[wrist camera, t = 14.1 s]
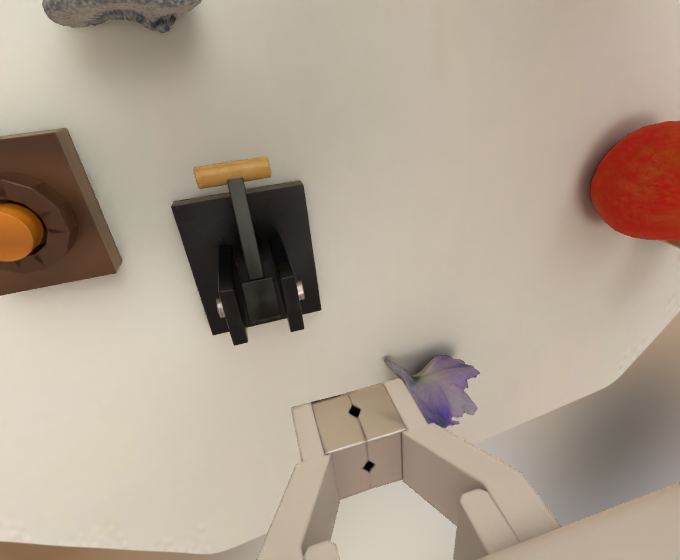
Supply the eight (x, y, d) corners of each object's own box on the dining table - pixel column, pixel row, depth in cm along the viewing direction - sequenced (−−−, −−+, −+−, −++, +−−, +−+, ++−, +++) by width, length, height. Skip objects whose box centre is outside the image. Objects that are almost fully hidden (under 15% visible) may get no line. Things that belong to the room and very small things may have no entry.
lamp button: (-30, 207, 23) (-46, 216, 22) (29, 198, 24) (17, 206, 23) (-1, 255, 25) (-15, 266, 24) (53, 245, 26) (43, 256, 24)
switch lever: (196, 171, 28) (190, 163, 25) (266, 160, 28) (267, 151, 26) (231, 323, 28) (228, 328, 26) (298, 307, 29) (301, 311, 27)
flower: (370, 431, 38) (471, 461, 37) (392, 346, 38) (493, 374, 38) (369, 406, 47) (450, 429, 46) (387, 337, 48) (467, 359, 47)
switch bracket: (172, 201, 30) (156, 245, 22) (300, 180, 32) (325, 213, 24) (212, 327, 36) (211, 395, 28) (318, 303, 37) (343, 361, 30)
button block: (-72, 145, 24) (-120, 157, 21) (66, 127, 26) (43, 136, 22) (10, 282, 29) (-18, 310, 26) (122, 261, 31) (110, 284, 27)
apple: (688, 135, 40) (826, 154, 31) (627, 232, 44) (732, 274, 35) (619, 101, 36) (755, 111, 27) (559, 211, 40) (659, 252, 31)
